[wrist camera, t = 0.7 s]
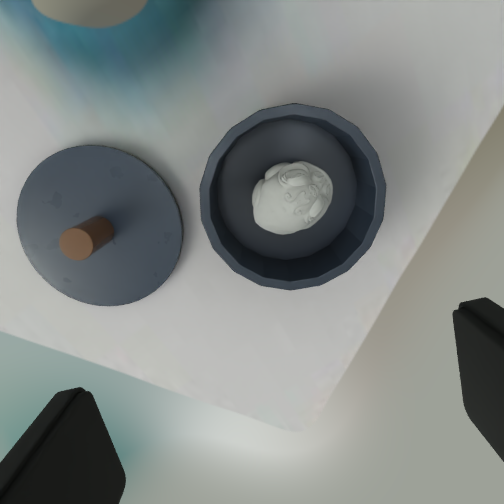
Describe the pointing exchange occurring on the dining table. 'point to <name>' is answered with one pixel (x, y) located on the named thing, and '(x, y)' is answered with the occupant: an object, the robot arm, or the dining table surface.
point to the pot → (292, 150)
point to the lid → (99, 225)
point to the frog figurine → (291, 197)
